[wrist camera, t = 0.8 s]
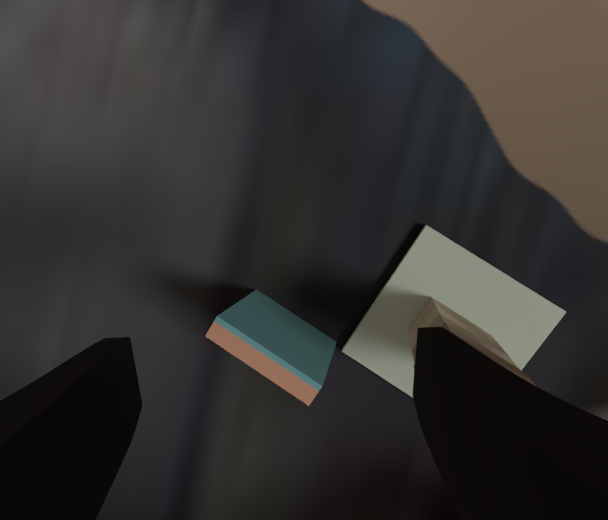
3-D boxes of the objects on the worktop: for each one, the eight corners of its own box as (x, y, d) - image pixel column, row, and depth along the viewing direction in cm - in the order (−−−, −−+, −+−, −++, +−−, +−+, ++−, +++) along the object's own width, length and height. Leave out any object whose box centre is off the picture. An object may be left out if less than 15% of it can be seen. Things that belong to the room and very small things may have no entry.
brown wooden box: (492, 334, 26) (540, 390, 18) (467, 369, 27) (502, 438, 19) (430, 295, 26) (451, 333, 19) (406, 330, 27) (416, 382, 19)
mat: (562, 309, 26) (566, 312, 25) (468, 430, 28) (470, 435, 27) (425, 224, 27) (426, 225, 26) (342, 348, 28) (341, 351, 28)
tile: (336, 342, 28) (322, 386, 21) (326, 357, 29) (309, 405, 22) (256, 289, 29) (216, 316, 22) (247, 305, 29) (205, 336, 22)
